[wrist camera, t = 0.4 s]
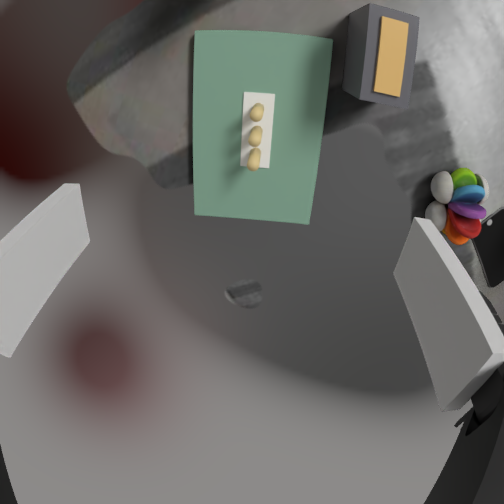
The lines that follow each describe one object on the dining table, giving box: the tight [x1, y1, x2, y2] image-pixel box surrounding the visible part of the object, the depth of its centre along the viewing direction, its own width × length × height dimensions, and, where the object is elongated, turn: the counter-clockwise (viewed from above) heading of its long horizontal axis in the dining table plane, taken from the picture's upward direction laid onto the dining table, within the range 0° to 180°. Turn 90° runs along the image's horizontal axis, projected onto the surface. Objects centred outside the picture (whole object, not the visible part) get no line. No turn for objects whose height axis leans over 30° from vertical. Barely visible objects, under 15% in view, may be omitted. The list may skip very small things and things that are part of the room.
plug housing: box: [342, 3, 419, 110], centre depth 24 cm, size 9×5×8 cm, turn 177°
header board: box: [193, 30, 333, 224], centre depth 31 cm, size 22×14×6 cm, turn 177°
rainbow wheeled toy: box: [425, 168, 489, 245], centre depth 33 cm, size 8×10×7 cm
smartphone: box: [472, 207, 504, 288], centre depth 40 cm, size 8×1×15 cm
